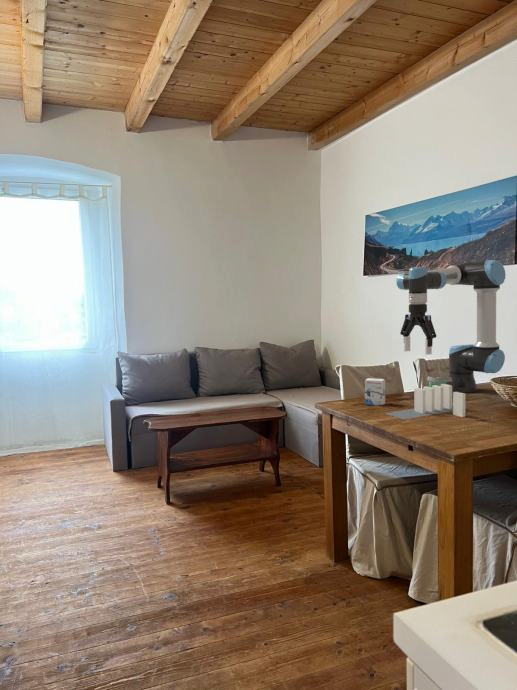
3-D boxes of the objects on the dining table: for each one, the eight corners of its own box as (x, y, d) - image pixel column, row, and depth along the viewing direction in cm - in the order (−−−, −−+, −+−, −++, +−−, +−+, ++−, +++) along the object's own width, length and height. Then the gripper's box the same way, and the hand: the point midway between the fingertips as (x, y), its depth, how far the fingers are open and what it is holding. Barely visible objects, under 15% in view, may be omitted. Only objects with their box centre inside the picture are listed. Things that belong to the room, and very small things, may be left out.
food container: (422, 396, 256) (422, 376, 254) (428, 394, 260) (428, 374, 258) (445, 399, 246) (445, 379, 245) (452, 397, 250) (452, 377, 249)
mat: (444, 404, 237) (444, 403, 236) (465, 410, 226) (465, 408, 226) (384, 414, 222) (384, 413, 222) (403, 420, 211) (403, 419, 211)
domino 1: (417, 410, 225) (417, 387, 224) (425, 412, 221) (425, 389, 220) (414, 411, 225) (414, 388, 223) (422, 413, 220) (422, 390, 219)
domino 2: (426, 409, 227) (426, 386, 226) (434, 411, 223) (434, 388, 222) (423, 409, 227) (423, 386, 226) (431, 411, 222) (431, 388, 221)
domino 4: (443, 406, 232) (443, 383, 230) (452, 408, 227) (452, 385, 226) (440, 406, 231) (440, 384, 230) (449, 408, 226) (449, 386, 225)
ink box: (364, 405, 242) (364, 380, 240) (367, 402, 246) (366, 378, 245) (383, 406, 238) (383, 380, 237) (385, 403, 243) (385, 378, 241)
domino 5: (455, 415, 217) (456, 391, 216) (465, 417, 213) (465, 393, 212) (453, 415, 217) (453, 392, 216) (462, 418, 212) (462, 394, 211)
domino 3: (434, 407, 229) (434, 385, 228) (443, 409, 225) (443, 387, 224) (432, 408, 229) (432, 385, 228) (440, 410, 224) (440, 387, 223)
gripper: (392, 303, 234) (392, 350, 236) (431, 304, 211) (430, 356, 213) (405, 302, 237) (405, 349, 239) (445, 303, 214) (445, 355, 216)
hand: (417, 352), depth 226 cm, fingers open, 13 cm apart
